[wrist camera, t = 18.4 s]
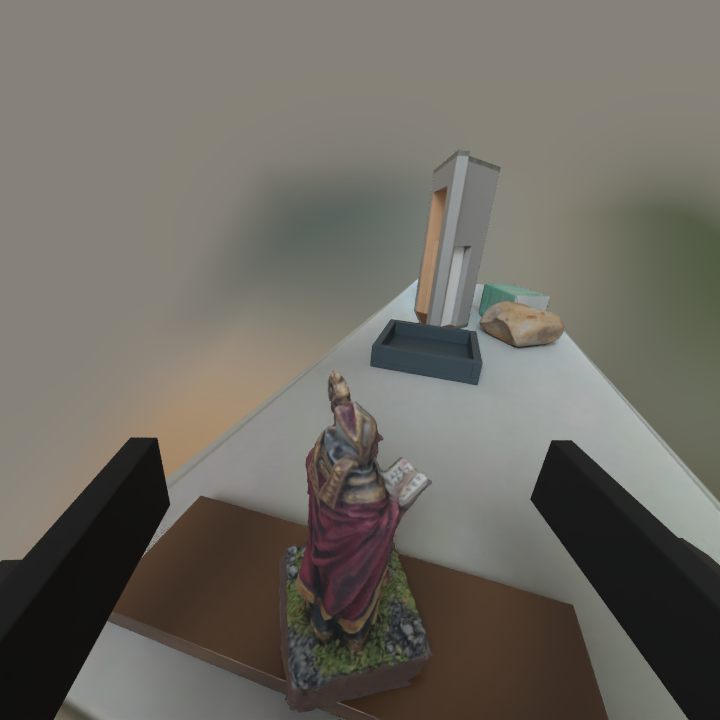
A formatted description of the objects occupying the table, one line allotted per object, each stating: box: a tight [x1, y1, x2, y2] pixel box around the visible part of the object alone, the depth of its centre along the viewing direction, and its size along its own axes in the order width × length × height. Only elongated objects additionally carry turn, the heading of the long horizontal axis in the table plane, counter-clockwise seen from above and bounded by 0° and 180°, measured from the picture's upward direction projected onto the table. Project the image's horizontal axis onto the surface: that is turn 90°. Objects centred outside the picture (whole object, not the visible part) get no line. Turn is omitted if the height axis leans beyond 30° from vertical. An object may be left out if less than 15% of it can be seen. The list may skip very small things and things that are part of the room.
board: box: [107, 496, 608, 720], centre depth 16 cm, size 22×7×1 cm, turn 75°
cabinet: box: [414, 150, 500, 329], centre depth 61 cm, size 21×10×28 cm, turn 178°
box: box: [479, 283, 550, 316], centre depth 70 cm, size 7×14×8 cm, turn 6°
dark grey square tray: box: [370, 319, 482, 385], centre depth 49 cm, size 14×14×3 cm
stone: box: [480, 301, 564, 347], centre depth 59 cm, size 14×11×8 cm
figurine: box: [279, 371, 433, 712], centre depth 14 cm, size 6×6×12 cm
